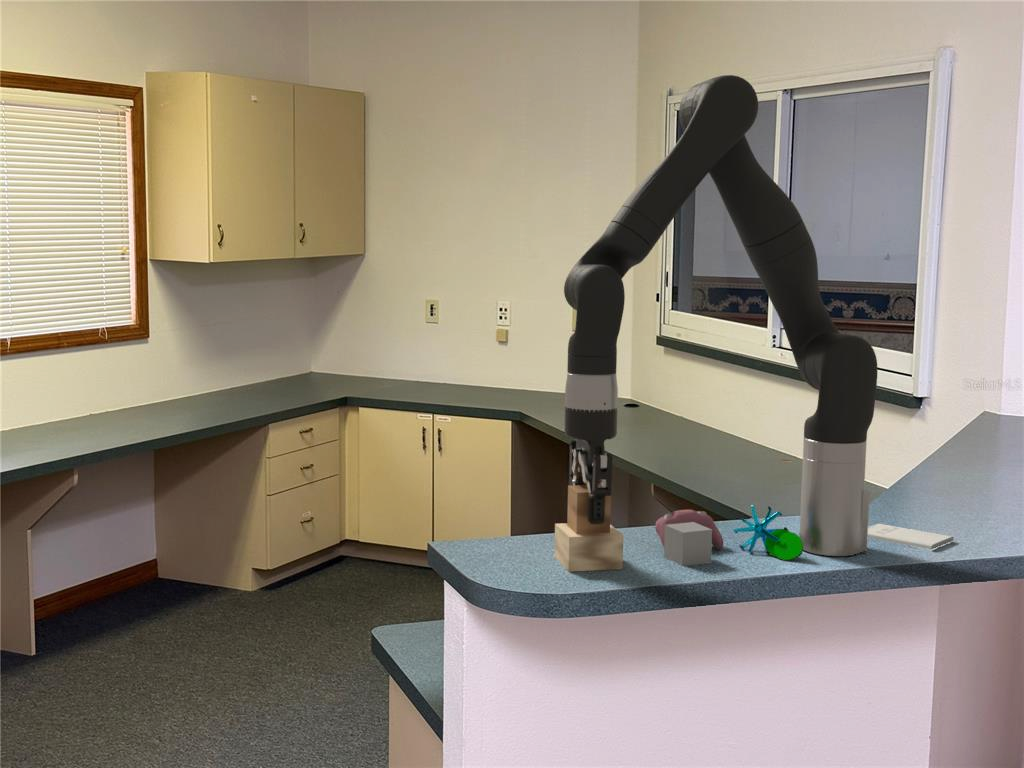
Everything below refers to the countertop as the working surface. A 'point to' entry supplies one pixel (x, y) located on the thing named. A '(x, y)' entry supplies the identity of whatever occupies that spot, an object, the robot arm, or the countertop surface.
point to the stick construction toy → (772, 537)
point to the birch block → (588, 549)
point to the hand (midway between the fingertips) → (588, 517)
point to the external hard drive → (907, 536)
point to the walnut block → (584, 511)
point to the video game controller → (687, 517)
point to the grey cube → (688, 543)
